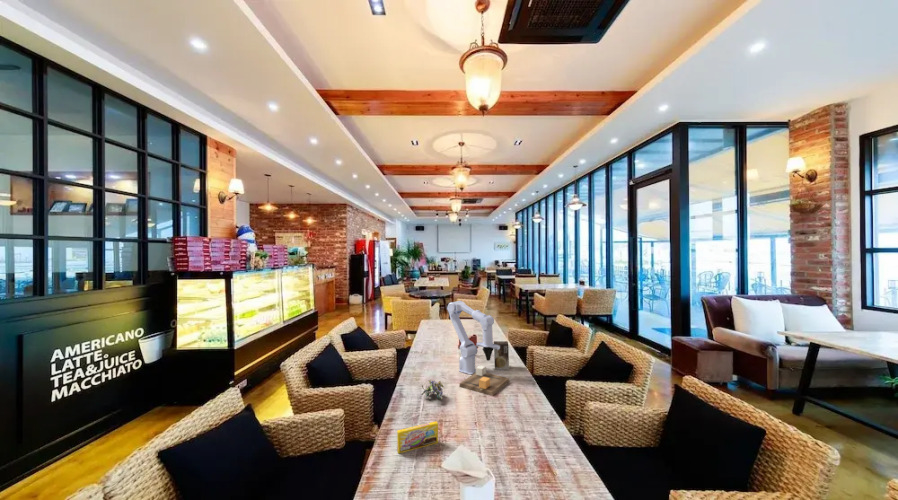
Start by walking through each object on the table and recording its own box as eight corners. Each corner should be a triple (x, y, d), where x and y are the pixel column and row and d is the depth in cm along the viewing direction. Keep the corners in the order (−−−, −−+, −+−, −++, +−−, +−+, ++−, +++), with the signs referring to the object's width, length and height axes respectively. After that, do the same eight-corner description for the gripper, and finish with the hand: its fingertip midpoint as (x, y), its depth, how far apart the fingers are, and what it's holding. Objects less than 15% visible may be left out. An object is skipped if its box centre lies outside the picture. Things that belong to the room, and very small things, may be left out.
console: (458, 387, 179) (458, 384, 179) (478, 374, 197) (478, 370, 197) (490, 396, 167) (490, 392, 167) (509, 381, 186) (509, 377, 186)
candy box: (398, 454, 122) (398, 432, 122) (396, 451, 124) (396, 429, 124) (438, 443, 129) (438, 422, 128) (436, 440, 131) (436, 420, 130)
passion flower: (440, 409, 166) (445, 396, 159) (419, 407, 164) (423, 394, 158) (440, 389, 175) (445, 375, 169) (420, 387, 174) (424, 373, 167)
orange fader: (479, 387, 173) (478, 379, 173) (483, 383, 177) (483, 376, 177) (485, 389, 171) (485, 381, 171) (490, 385, 175) (490, 378, 175)
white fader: (475, 374, 190) (475, 367, 190) (480, 371, 195) (480, 365, 195) (481, 376, 188) (481, 369, 188) (486, 373, 192) (485, 366, 192)
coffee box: (508, 366, 210) (507, 341, 209) (509, 369, 203) (508, 344, 203) (494, 365, 211) (493, 340, 210) (494, 369, 204) (494, 343, 204)
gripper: (473, 336, 193) (474, 359, 193) (495, 340, 184) (496, 364, 184) (479, 334, 198) (480, 356, 198) (501, 337, 190) (502, 360, 190)
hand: (488, 359), depth 192 cm, fingers closed
